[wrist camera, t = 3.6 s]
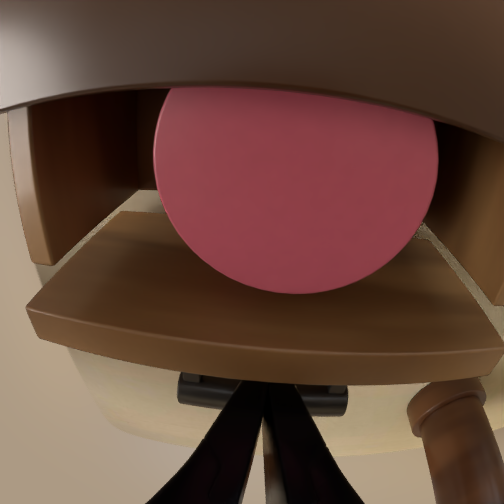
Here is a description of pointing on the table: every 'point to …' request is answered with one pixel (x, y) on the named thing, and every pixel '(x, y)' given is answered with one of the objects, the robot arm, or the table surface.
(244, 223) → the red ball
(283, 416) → the robot arm
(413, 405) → the pepper mill
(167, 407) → the table surface
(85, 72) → the cabinet
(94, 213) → the drawer
